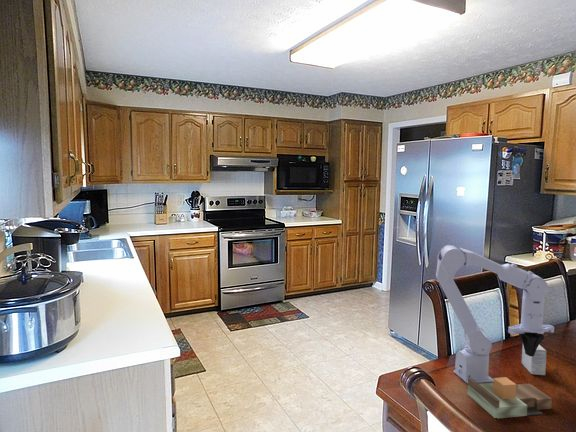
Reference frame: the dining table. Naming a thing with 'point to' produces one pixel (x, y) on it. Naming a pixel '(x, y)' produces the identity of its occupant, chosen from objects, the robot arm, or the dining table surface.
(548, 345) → the dining table surface
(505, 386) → the orange block
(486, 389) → the board
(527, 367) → the medicine box
